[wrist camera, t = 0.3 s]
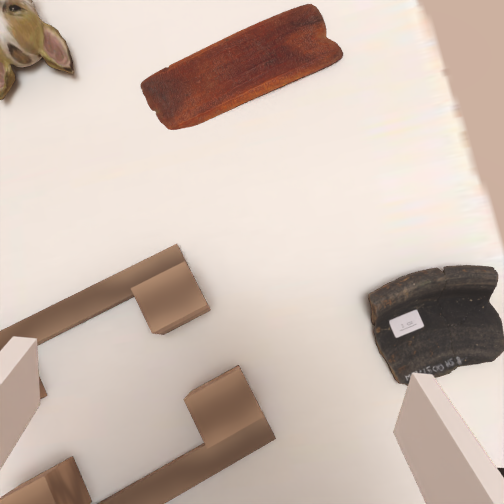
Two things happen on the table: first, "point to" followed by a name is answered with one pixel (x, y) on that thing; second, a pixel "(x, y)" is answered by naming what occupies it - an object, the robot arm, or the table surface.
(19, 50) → the ceramic sculpture
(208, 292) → the table surface
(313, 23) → the wooden tablet
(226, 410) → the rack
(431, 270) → the pottery fragment
